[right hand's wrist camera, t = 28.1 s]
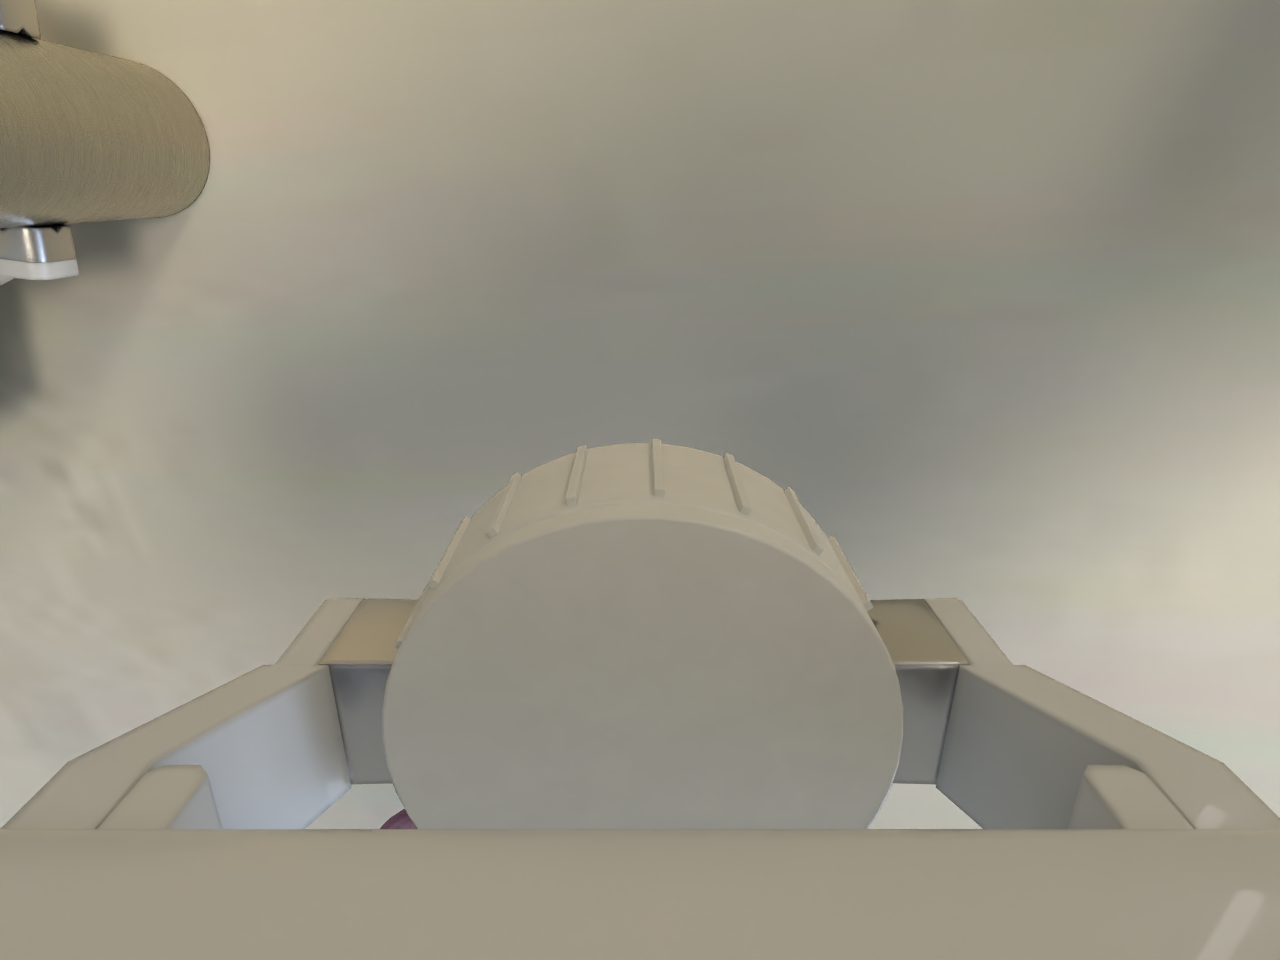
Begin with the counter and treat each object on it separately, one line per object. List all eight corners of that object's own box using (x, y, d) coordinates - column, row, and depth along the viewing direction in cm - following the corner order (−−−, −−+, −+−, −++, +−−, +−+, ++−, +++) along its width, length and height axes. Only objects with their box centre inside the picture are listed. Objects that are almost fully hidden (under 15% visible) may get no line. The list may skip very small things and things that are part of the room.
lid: (935, 650, 10) (1011, 769, 8) (627, 854, 12) (624, 998, 10) (663, 339, 9) (669, 388, 7) (343, 620, 10) (265, 735, 8)
